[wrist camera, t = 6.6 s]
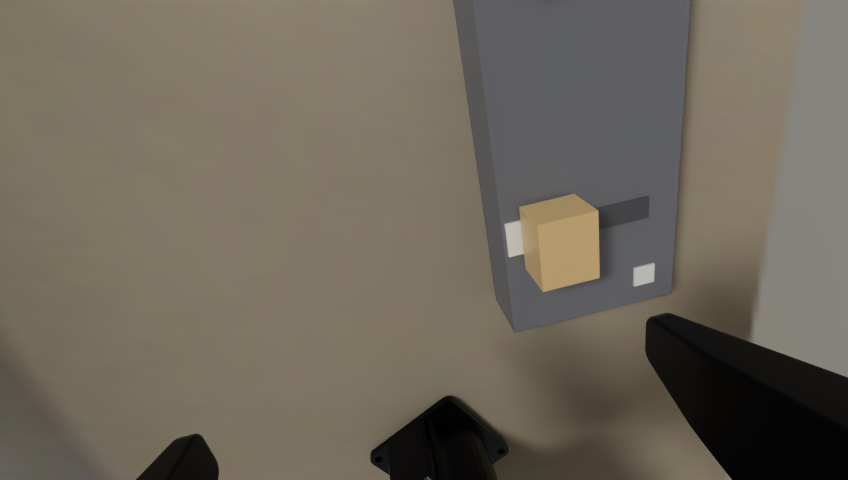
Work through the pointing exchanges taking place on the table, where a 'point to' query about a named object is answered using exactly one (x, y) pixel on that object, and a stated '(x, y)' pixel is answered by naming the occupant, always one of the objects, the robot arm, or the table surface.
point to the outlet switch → (560, 241)
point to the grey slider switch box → (578, 138)
